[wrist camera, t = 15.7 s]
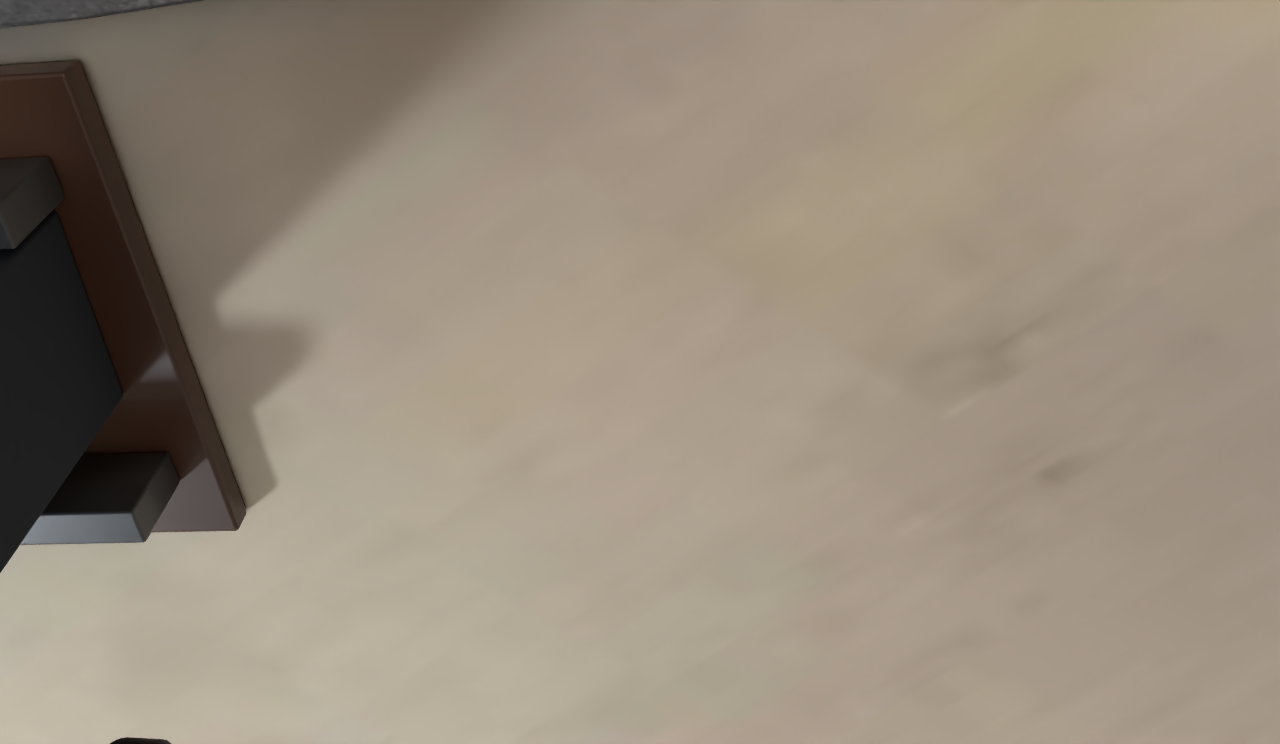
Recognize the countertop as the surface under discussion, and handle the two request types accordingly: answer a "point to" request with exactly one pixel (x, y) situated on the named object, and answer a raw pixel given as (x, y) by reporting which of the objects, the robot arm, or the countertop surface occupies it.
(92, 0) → the cleaver
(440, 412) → the countertop surface
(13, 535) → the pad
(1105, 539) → the countertop surface
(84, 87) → the pad mount
